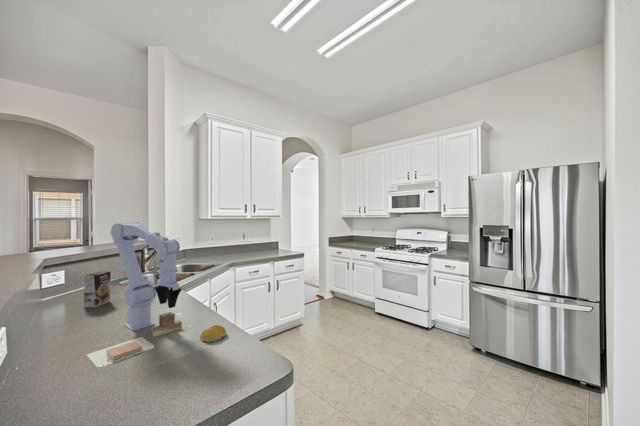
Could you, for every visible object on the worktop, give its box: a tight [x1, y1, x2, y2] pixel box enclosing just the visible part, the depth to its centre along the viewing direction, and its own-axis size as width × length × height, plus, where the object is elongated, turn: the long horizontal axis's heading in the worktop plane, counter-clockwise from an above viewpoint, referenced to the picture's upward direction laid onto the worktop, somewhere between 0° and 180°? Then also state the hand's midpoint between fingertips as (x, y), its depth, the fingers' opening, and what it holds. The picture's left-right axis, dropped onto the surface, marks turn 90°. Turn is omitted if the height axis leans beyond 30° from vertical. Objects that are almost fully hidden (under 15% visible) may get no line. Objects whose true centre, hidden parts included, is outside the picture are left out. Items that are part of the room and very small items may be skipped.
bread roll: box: [199, 324, 227, 343], centre depth 100 cm, size 8×9×4 cm
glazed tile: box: [106, 341, 142, 361], centre depth 88 cm, size 2×8×6 cm
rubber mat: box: [86, 336, 154, 368], centre depth 90 cm, size 13×16×1 cm
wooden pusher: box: [150, 311, 183, 338], centre depth 105 cm, size 4×10×7 cm, turn 143°
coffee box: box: [83, 271, 112, 308], centre depth 137 cm, size 9×6×16 cm
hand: (167, 305), depth 105 cm, fingers open, 7 cm apart
